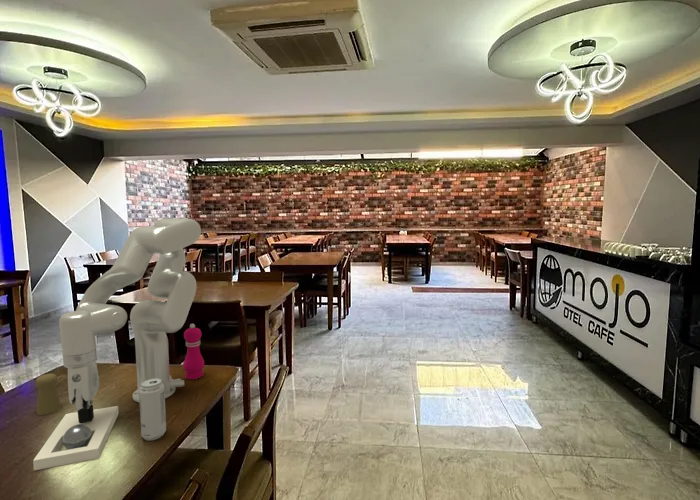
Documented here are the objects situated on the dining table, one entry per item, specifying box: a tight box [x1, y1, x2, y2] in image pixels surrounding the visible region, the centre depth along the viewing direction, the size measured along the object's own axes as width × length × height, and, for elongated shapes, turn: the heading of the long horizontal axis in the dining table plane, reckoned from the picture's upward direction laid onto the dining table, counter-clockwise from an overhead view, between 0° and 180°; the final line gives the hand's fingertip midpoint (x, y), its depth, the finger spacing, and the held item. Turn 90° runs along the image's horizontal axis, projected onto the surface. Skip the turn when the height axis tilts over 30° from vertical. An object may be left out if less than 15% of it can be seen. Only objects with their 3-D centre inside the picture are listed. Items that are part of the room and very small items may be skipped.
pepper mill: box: [182, 323, 205, 380], centre depth 138 cm, size 7×7×20 cm
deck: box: [32, 405, 119, 471], centre depth 101 cm, size 13×22×2 cm, turn 21°
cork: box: [34, 373, 62, 416], centre depth 115 cm, size 6×6×11 cm
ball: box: [62, 424, 91, 450], centre depth 97 cm, size 6×6×6 cm
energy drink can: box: [138, 378, 167, 442], centre depth 102 cm, size 6×6×15 cm
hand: (86, 420), depth 104 cm, fingers closed
